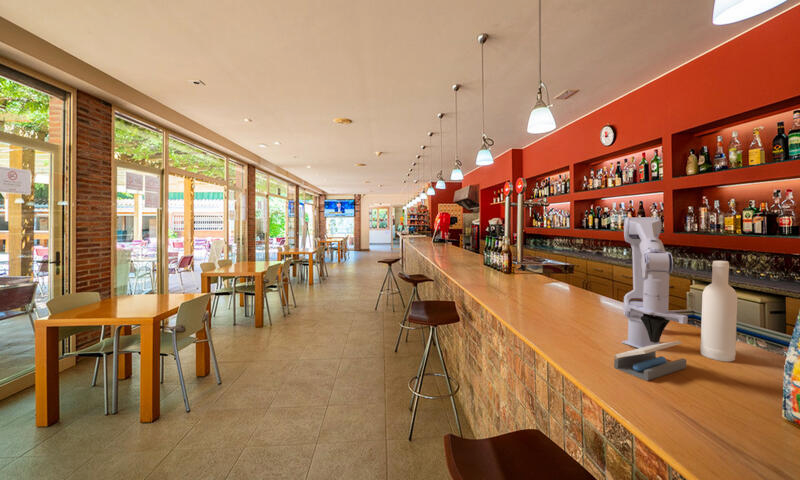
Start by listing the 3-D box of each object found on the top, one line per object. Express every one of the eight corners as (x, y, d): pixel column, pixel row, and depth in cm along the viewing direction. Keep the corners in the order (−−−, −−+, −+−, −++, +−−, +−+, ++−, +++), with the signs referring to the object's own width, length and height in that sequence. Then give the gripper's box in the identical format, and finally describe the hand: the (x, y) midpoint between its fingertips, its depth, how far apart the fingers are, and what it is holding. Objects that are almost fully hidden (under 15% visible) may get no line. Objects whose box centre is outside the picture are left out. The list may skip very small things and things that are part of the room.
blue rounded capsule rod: (658, 361, 99) (658, 355, 99) (666, 364, 97) (666, 357, 97) (631, 370, 94) (631, 363, 94) (638, 373, 92) (638, 366, 92)
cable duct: (651, 356, 103) (652, 348, 103) (686, 368, 95) (686, 359, 95) (614, 367, 96) (614, 359, 96) (647, 381, 88) (647, 371, 88)
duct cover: (650, 348, 103) (649, 345, 103) (681, 343, 95) (680, 340, 96) (615, 357, 96) (614, 355, 97) (645, 353, 89) (643, 350, 89)
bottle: (734, 356, 103) (738, 260, 101) (736, 364, 97) (740, 263, 95) (700, 349, 108) (703, 259, 107) (699, 357, 103) (702, 261, 101)
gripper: (620, 291, 99) (619, 335, 99) (677, 301, 85) (675, 353, 86) (635, 289, 101) (634, 332, 102) (692, 298, 88) (691, 348, 89)
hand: (654, 341), depth 94 cm, fingers closed
